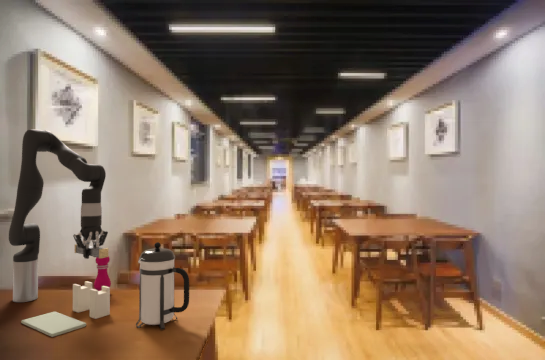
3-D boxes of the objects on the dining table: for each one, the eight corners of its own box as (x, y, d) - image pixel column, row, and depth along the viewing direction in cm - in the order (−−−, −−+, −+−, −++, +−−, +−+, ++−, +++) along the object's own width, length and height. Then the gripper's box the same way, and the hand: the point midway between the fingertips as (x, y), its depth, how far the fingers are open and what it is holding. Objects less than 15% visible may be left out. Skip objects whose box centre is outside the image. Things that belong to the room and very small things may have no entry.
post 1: (72, 310, 157) (72, 284, 157) (86, 306, 162) (87, 281, 162) (78, 312, 155) (78, 285, 155) (92, 308, 160) (92, 282, 160)
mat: (21, 323, 143) (21, 320, 143) (54, 313, 153) (54, 311, 153) (52, 337, 131) (52, 334, 131) (86, 326, 141) (86, 323, 141)
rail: (74, 252, 158) (74, 244, 158) (82, 251, 161) (82, 243, 161) (100, 258, 148) (100, 249, 148) (108, 256, 151) (108, 248, 151)
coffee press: (139, 335, 133) (140, 247, 133) (132, 320, 147) (133, 240, 147) (189, 326, 141) (190, 243, 141) (178, 313, 155) (179, 237, 155)
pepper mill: (104, 296, 175) (104, 252, 175) (90, 295, 177) (90, 251, 177) (114, 292, 182) (114, 249, 182) (100, 291, 184) (100, 249, 184)
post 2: (89, 316, 150) (89, 289, 150) (103, 312, 155) (103, 285, 155) (95, 318, 148) (95, 290, 148) (109, 314, 153) (109, 287, 153)
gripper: (102, 212, 163) (101, 253, 163) (68, 215, 151) (68, 259, 151) (112, 213, 159) (112, 256, 159) (79, 216, 147) (78, 262, 147)
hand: (90, 257), depth 155 cm, fingers closed on rail, 3 cm apart
